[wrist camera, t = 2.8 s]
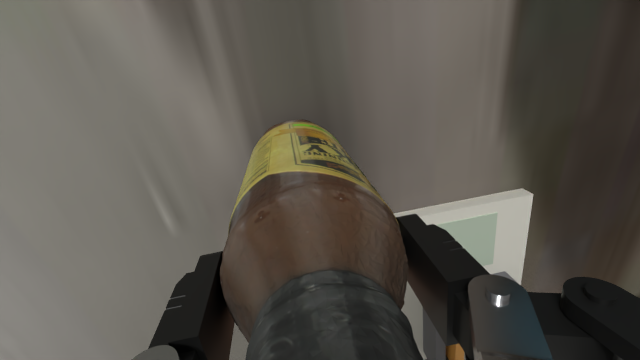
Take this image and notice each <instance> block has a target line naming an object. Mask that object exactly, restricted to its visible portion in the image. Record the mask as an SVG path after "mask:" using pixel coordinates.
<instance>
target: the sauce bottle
mask: <svg viewBox="0 0 640 360" xmlns="http://www.w3.org/2000/svg"><path fill="white" fill-rule="evenodd" d="M407 261H408V260H407V256H406V250H405V246H404V243H403V240H402V236H401V231H400V227H399V224H398V221H397V219H396V217H395V216H394V214H393V212H392V211H391V209H390V208H389V207H388V206H387V204H386V203H385V202H384V201H383V199H382V198H381V196H380V195H379V194H378V192H377V191H376V189H375V188H374V187H373V186H372V185H371V184H370V182H369V181H368V180H367V178H366V176H365V175H364V174H363V173H362V172H361V170H360V169H359V168H358V166H357V165H356V164H355V163H354V162H353V161H352V159H351V158H350V157H349V156H348V154H347V153H346V152H345V150H344V149H343V148H342V146H341V145H340V144H339V142H338V141H337V140H336V139H335V138H334V137H333V136H332V135H331V134H330V133H329V132H328V131H326V130H325V129H323V128H321V127H320V126H318V125H315V124H314V123H312V122H310V121H307V120H291V121H287V122H283V123H280V124H277V125H274V126H273V127H271V128H269V129H268V130H267V131H266V132H265V134H264V135H263V136H262V138H261V139H260V140H259V142H258V143H257V145H256V146H255V148H254V150H253V152H252V155H251V158H250V161H249V164H248V167H247V170H246V174H245V177H244V180H243V183H242V186H241V189H240V192H239V195H238V198H237V201H236V204H235V207H234V210H233V213H232V216H231V220H230V224H229V233H228V239H227V241H226V245H225V248H224V251H223V257H222V263H221V266H220V282H221V288H222V292H223V296H224V299H225V303H226V305H227V308H228V310H229V312H230V314H231V315H232V317H233V319H234V321H235V323H236V325H237V326H238V327H239V330H240V331H241V332H242V334H243V335H244V336H245V338H246V339H247V341H248V343H249V345H248V349H247V354H246V360H423V358H422V356H421V354H420V352H419V350H418V347H417V344H416V342H415V340H414V337H413V332H412V327H411V324H410V322H409V320H408V318H407V316H406V315H405V314H404V313H403V312H402V311H401V309H402V307H403V305H404V297H405V292H406V286H407V278H408V263H407Z"/></svg>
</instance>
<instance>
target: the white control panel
mask: <svg viewBox="0 0 640 360" xmlns="http://www.w3.org/2000/svg"><path fill="white" fill-rule="evenodd" d="M532 200H533V194H532V193H530V192H528V191H526V190H524V189H523V188H521V189H516V190H511V191H505V192H500V193H495V194H490V195H485V196H480V197H475V198H470V199H465V200H460V201H455V202H450V203H445V204H439V205H434V206H429V207H424V208H419V209H414V210H409V211H404V212H399V213H394V216H395V217H400V216H405V215H410V214H417V215H418V216H419V217H420V218H421V219H422V220H423V221H424V222H425V224H426V225H431V224H434V225H436V226H438V227H440V228H443V229H445V230H446V231H447V232H448V233H449V234H450V235H451V236H452V237H453V238H454V239H455V241H457V242H459V243H460V244H461V245H462V247H463V248H465V249H466V250H467V251H468V252H469V253H470V254H471V255H472V256H473V257H474V258H475V259H476V260H477V261H478V262H479V263H480V264H481V265H482V266H483V267H484V268H485V269H486V270H487V271H488V272H489V273H490V274H491V275H498V276H503V277H506V278H509V279H511V280H513V281H515V282H516V283H518V284H519V285H521V279H522V271H523V264H524V257H525V250H526V243H527V236H528V229H529V222H530V214H531V207H532ZM401 311H402V312H403V313H404V314H405V315H406V316H407V318H408V320H409V322H410V324H411V327H412V332H413V337H414V340H415V342H416V344H417V347H418V350H419V352H420V354H421V356H422V358H423V360H424V359H428V360H449V359H448V358H447V356H446V345H445V343H444V342H443V340H442V338H441V337H440V335H439V333H438V332H437V330H436V328H435V327H434V325H433V323H432V322H431V320H430V318H429V316H428V315H427V313H426V311H425V310H424V308H423V306H422V305H421V303H420V301H419V300H418V298H417V296H416V295H415V293H414V291H413V290H412V288H411V286H410V285H409V283H408V281H407V286H406V292H405V297H404V305H403V307H402V309H401Z"/></svg>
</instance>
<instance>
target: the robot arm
mask: <svg viewBox="0 0 640 360" xmlns="http://www.w3.org/2000/svg"><path fill="white" fill-rule="evenodd" d="M396 219H397V221H398V224H399V227H400V231H401V236H402V240H403V243H404V246H405V250H406V256H407V260H408V261H407V263H408V278H407V281H408V283H409V285H410V286H411V288H412V290H413V291H414V293H415V295H416V296H417V298H418V300H419V301H420V303H421V305H422V306H423V308H424V310H425V311H426V313H427V315H428V316H429V318H430V320H431V322H432V323H433V325H434V327H435V328H436V330H437V332H438V333H439V335H440V337H441V338H442V340H443V342H444V343H445V345H446V346H450V345H454V344H460V346H461V347H462V349H463V350H464V360H640V298H638V297H636V296H634V295H633V294H631V293H629V292H627V291H626V290H624V289H622V288H620V287H618V286H616V285H614V284H612V283H609V282H606V281H603V280H600V279H596V278H590V277H575V278H571V279H569V280H567V281H566V282H565V283H564V285H563V289H562V293H536V292H527V291H526V290H525V289H524V288H523V287H522V286H521V285H519V284H518V283H516V282H515V281H513V280H511V279H509V278H506V277H503V276H498V275H491V274H490V273H489V272H488V271H487V270H486V269H485V268H484V267H483V266H482V265H481V264H480V263H479V262H478V261H477V260H476V259H475V258H474V257H473V256H472V255H471V254H470V253H469V252H468V251H467V250H466V249H465V248H463V247H462V245H461V244H460V243H459V242H457V241H455V239H454V238H453V237H452V236H451V235H450V234H449V233H448V232H447V231H446V230H445V229H443V228H440V227H438V226H436V225H434V224H431V225H426V224H425V222H424V221H423V220H422V219H421V218H420V217H419V216H418V215H417V214H410V215H405V216H400V217H396ZM222 257H223V251H221V252H216V253H211V254H206V255H202V256H200V258H199V261H198V263H197V266H196V269H195V271H194V272H191V273H186V275H185V276H184V277H183V278H182V279H181V280H180V281H179V282H178V283H177V284H176V286H175V288H174V290H173V293H172V295H171V297H170V298H171V300H169V302H168V304H167V307H166V310H165V311H164V314H163V316H162V318H161V320H160V323H159V325H158V327H157V330H156V332H155V334H154V337H153V339H152V341H151V344H150V346H149V348H148V349H147V350H145V351H143V352H142V353H140V354H138V355H137V356H136V357H134V358H133V359H132V360H229V355H230V348H231V342H232V335H233V328H234V319H233V317H232V315H231V314H230V312H229V310H228V308H227V305H226V303H225V299H224V296H223V292H222V288H221V282H220V266H221V263H222Z"/></svg>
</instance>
